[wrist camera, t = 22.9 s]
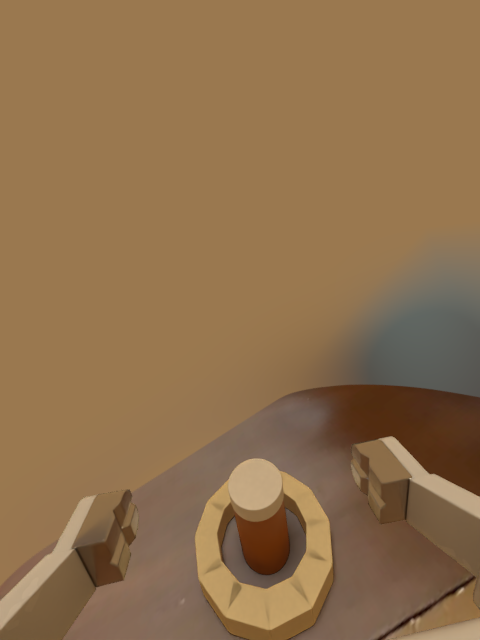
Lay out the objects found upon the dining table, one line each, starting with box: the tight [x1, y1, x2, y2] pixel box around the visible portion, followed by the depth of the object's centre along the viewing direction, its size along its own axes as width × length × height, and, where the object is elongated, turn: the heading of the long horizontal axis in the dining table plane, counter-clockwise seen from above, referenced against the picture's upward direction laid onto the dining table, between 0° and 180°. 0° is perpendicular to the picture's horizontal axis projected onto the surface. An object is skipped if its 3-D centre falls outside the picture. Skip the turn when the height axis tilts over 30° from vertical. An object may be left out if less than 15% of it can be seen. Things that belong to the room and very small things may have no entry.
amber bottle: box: [228, 459, 290, 575], centre depth 25 cm, size 5×5×9 cm
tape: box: [195, 471, 334, 640], centre depth 26 cm, size 14×14×2 cm
